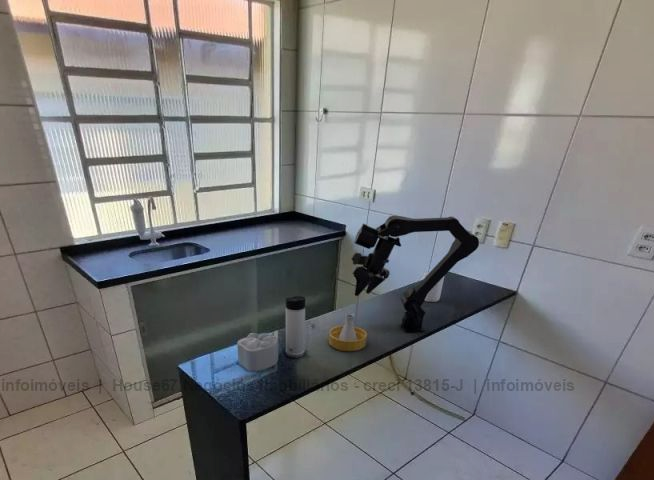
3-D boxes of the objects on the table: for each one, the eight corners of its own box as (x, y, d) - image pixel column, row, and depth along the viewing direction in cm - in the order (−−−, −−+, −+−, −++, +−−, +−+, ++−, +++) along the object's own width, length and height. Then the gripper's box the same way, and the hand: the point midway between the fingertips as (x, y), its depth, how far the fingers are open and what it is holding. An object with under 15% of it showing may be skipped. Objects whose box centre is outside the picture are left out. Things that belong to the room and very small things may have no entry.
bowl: (360, 334, 150) (361, 324, 147) (369, 351, 139) (371, 340, 136) (325, 336, 149) (326, 326, 146) (332, 352, 138) (332, 342, 135)
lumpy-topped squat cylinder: (234, 360, 133) (232, 336, 128) (267, 349, 140) (266, 326, 135) (252, 373, 126) (250, 348, 121) (285, 361, 133) (285, 337, 128)
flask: (361, 344, 141) (364, 318, 136) (342, 347, 140) (344, 320, 134) (352, 336, 147) (354, 310, 142) (334, 339, 145) (335, 313, 140)
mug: (447, 297, 182) (452, 273, 176) (432, 304, 175) (437, 279, 170) (430, 292, 188) (434, 269, 182) (415, 298, 181) (419, 275, 175)
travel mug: (291, 359, 133) (291, 302, 123) (282, 351, 138) (282, 295, 128) (308, 355, 136) (309, 298, 125) (298, 347, 141) (299, 292, 130)
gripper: (373, 243, 150) (355, 282, 158) (349, 243, 136) (331, 286, 144) (398, 257, 146) (379, 296, 154) (377, 258, 132) (356, 301, 140)
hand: (361, 294), depth 148 cm, fingers open, 9 cm apart
